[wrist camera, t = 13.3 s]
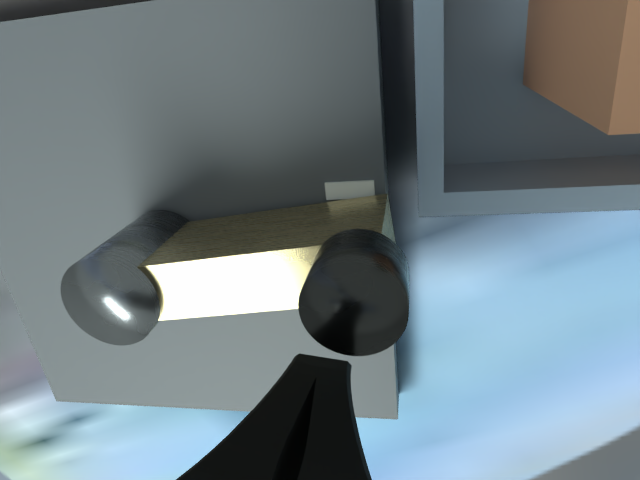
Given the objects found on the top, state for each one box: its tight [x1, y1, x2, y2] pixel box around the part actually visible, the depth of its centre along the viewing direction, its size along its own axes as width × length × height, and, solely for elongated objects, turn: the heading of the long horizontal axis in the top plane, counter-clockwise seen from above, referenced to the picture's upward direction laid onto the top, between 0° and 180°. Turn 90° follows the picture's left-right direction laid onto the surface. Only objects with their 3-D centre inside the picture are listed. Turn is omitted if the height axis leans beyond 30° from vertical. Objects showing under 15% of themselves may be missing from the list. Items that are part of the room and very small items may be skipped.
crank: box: [61, 193, 409, 356], centre depth 12 cm, size 9×3×5 cm, turn 102°
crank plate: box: [0, 0, 399, 419], centre depth 16 cm, size 14×14×1 cm
